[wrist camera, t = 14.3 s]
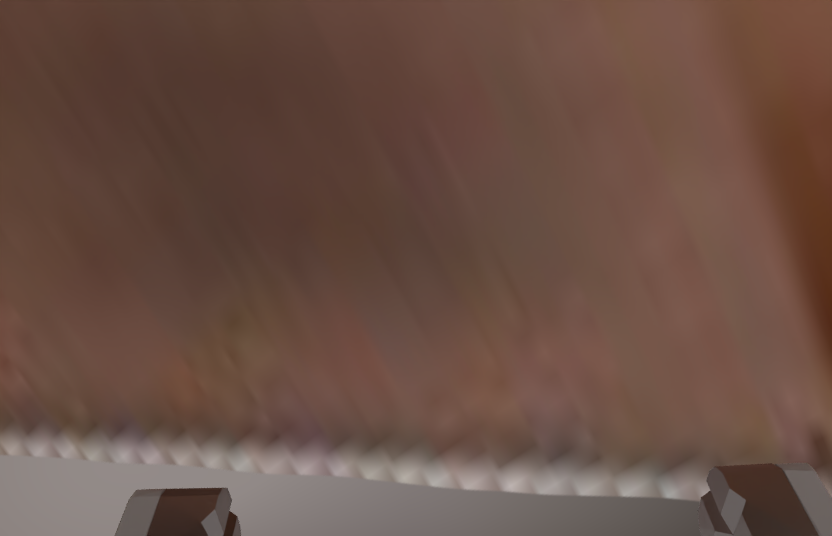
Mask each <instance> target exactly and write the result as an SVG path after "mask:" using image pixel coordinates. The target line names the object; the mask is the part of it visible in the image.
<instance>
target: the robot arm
mask: <svg viewBox="0 0 832 536" xmlns="http://www.w3.org/2000/svg"><path fill="white" fill-rule="evenodd" d="M706 481H707V483H708V486H709V488H710V491H709V492H708V493H707V494H705V495H704V496H703V497H701V500H700V505H699V509H698V519H699V529H700V533H701V536H832V498H831V496H830V494H829V493H828V491H827V490H826V488H825V486H824V485H823V483H822V481H821V480H820V478H819V476H818V475H817V473H816V472H815V470H814V468H813V467H811V466H810V465H809V464H808V463H787V464H772V463H769V464H751V465H734V466H716V467H713V468H712V469H711V470H710V471H709V474H708V477H707V480H706ZM231 502H232V499H231V496H230V494H229V491H228V488H189V489H146V490H136V491H135V492H134V494H133V495H132V496H131V497H130V499H129V501H128V503H127V506H126V509H125V511H124V513H123V516H122V518H121V521H120V523H119V526H118V528H117V531H116V533H115V536H241V530H240V524H239V520H238V517H237V516H236V515H234V514H233V513H232V512H230V511H229V510H230V506H231Z"/></svg>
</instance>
